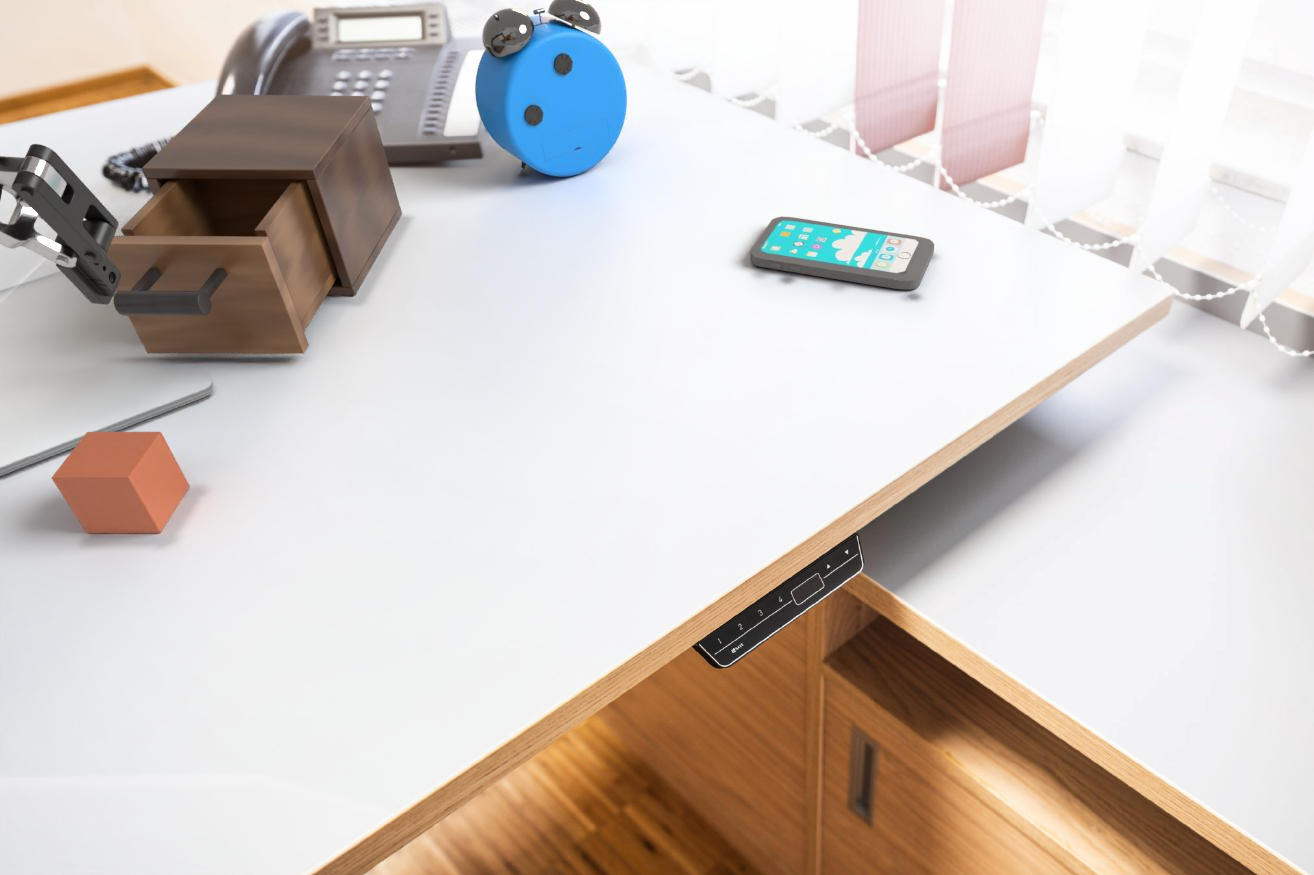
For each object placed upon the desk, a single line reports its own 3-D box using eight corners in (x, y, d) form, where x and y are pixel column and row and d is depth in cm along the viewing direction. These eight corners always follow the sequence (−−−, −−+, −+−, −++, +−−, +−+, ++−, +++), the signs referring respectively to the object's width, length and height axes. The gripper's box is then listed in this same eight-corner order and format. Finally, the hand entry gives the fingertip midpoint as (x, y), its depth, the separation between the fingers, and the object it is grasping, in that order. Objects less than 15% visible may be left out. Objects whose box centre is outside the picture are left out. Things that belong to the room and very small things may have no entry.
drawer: (280, 393, 74) (233, 281, 68) (116, 393, 74) (54, 281, 67) (357, 264, 87) (324, 161, 81) (218, 263, 87) (174, 159, 81)
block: (86, 533, 65) (50, 477, 61) (119, 486, 68) (87, 431, 65) (160, 533, 65) (128, 477, 62) (190, 486, 68) (161, 431, 65)
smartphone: (917, 282, 87) (745, 255, 89) (916, 293, 87) (745, 265, 90) (937, 236, 93) (776, 211, 95) (936, 246, 93) (776, 222, 96)
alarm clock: (603, 140, 108) (583, -19, 98) (637, 160, 105) (619, -2, 95) (489, 174, 102) (454, 8, 92) (521, 196, 99) (488, 27, 88)
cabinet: (355, 296, 85) (313, 169, 78) (197, 295, 85) (140, 168, 77) (402, 213, 96) (369, 95, 88) (262, 212, 95) (217, 94, 88)
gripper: (-3, 4, 46) (179, 244, 61) (-342, -35, 45) (-74, 217, 60) (-71, 135, 43) (138, 352, 58) (-434, 96, 42) (-128, 326, 57)
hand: (30, 283), depth 59 cm, fingers open, 8 cm apart
